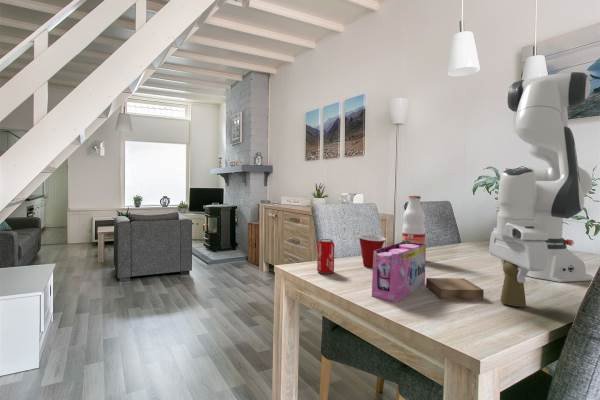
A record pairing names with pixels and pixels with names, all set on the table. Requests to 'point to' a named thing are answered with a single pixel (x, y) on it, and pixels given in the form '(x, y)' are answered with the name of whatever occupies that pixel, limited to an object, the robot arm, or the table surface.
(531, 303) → the table surface
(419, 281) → the gum box
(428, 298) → the table surface
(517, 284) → the cork
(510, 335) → the table surface
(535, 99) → the robot arm
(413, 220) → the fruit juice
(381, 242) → the plastic cup
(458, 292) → the walnut block
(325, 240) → the soda can
